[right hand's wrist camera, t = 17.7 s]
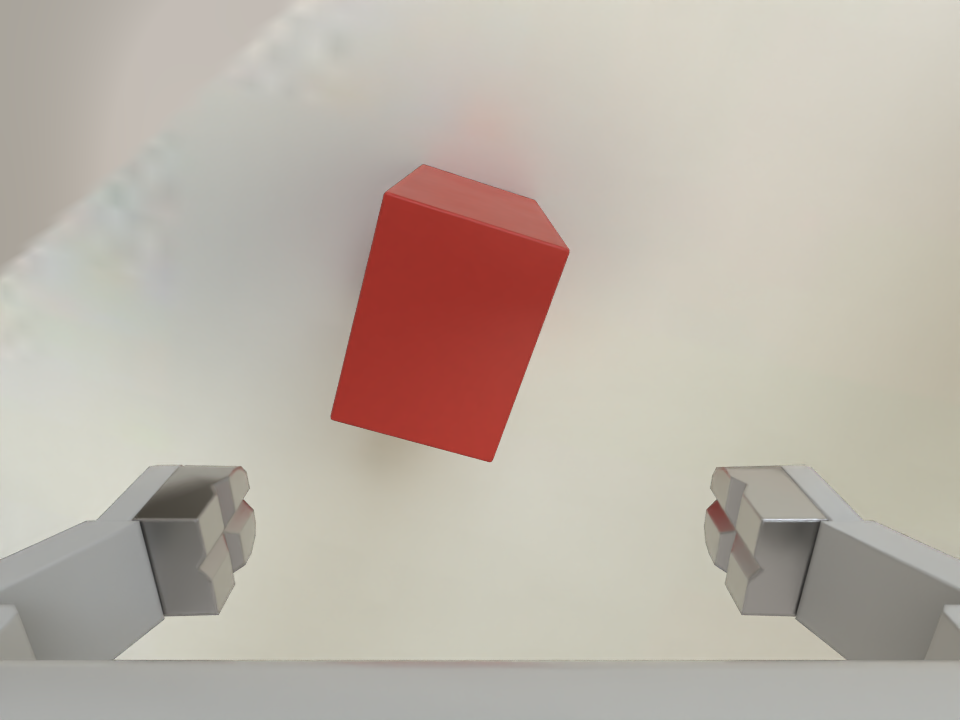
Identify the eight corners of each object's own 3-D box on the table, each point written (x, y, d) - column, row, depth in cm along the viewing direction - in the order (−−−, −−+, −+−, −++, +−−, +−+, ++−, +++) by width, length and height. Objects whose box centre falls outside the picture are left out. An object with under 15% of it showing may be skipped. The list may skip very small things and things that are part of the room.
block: (536, 200, 26) (570, 250, 16) (488, 344, 28) (492, 464, 18) (421, 163, 25) (384, 190, 15) (382, 313, 28) (329, 420, 18)
